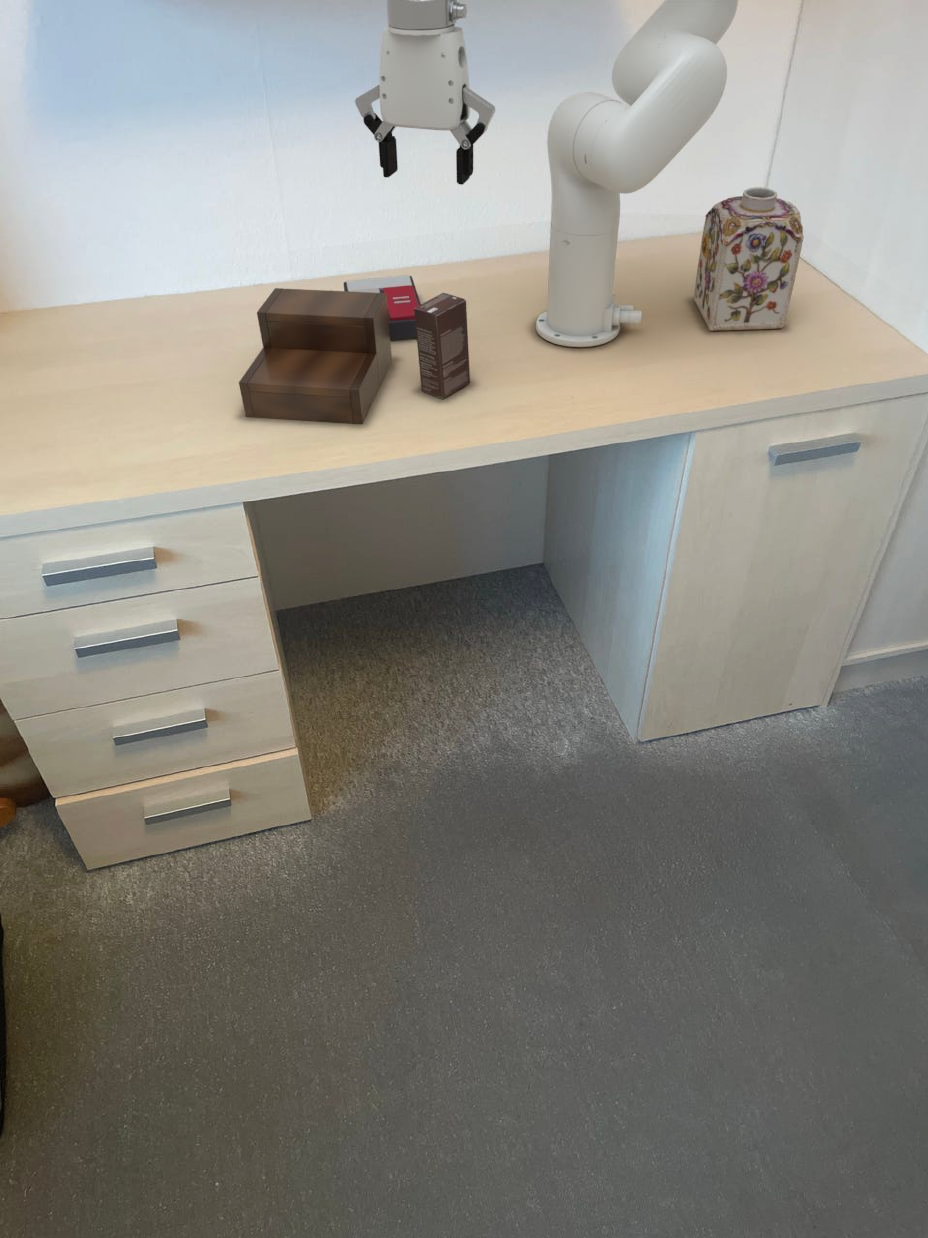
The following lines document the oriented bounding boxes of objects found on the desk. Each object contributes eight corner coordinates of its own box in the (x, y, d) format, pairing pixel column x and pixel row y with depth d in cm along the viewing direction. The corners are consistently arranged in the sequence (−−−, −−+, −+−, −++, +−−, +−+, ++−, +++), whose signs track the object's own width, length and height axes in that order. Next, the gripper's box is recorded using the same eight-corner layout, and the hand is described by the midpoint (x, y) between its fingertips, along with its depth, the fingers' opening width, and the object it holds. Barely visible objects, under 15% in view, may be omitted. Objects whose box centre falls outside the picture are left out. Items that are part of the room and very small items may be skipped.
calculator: (351, 321, 133) (342, 276, 143) (354, 348, 136) (345, 302, 146) (425, 314, 134) (411, 270, 145) (426, 341, 137) (412, 295, 148)
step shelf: (391, 360, 132) (386, 292, 125) (362, 424, 119) (354, 352, 112) (286, 354, 134) (275, 287, 127) (245, 416, 121) (230, 346, 114)
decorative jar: (764, 297, 145) (789, 177, 133) (785, 329, 136) (814, 204, 124) (690, 299, 145) (708, 179, 132) (706, 332, 136) (727, 207, 124)
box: (446, 374, 128) (443, 290, 120) (470, 383, 126) (469, 299, 118) (417, 390, 125) (412, 306, 117) (442, 400, 123) (438, 315, 115)
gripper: (504, 11, 102) (502, 174, 113) (362, 5, 106) (374, 162, 118) (484, 23, 97) (483, 193, 108) (336, 16, 101) (350, 180, 112)
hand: (426, 177), depth 113 cm, fingers open, 9 cm apart
